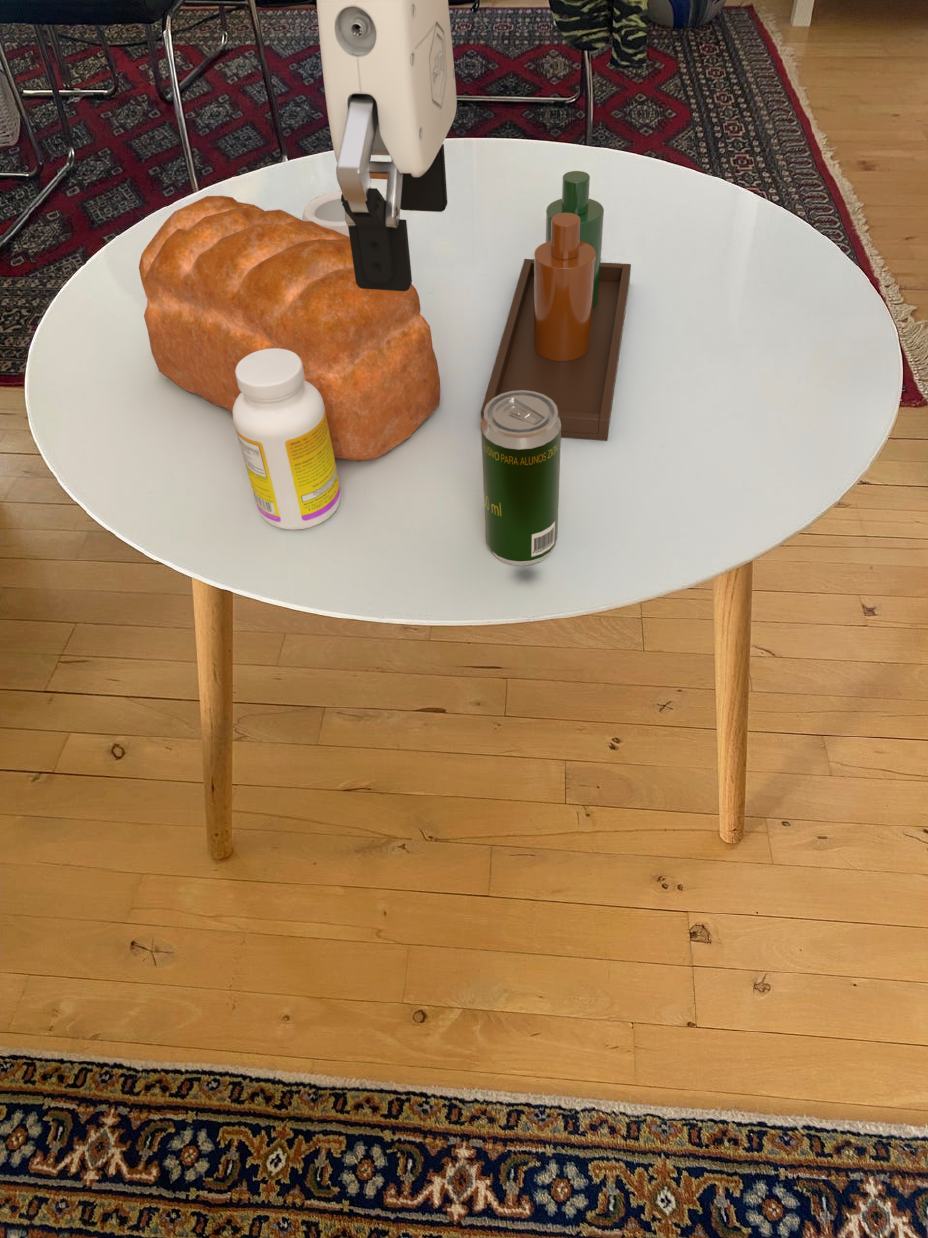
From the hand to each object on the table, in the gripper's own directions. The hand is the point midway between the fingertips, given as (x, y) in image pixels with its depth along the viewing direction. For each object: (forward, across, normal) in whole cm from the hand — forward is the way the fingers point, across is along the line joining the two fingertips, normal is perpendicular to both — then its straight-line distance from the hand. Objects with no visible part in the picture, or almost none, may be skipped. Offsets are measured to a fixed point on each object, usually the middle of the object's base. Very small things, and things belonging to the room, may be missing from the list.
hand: (404, 246), depth 60 cm
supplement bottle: (+22, 0, +11) cm, 25 cm away
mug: (+22, +36, +15) cm, 45 cm away
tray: (+22, +24, -7) cm, 34 cm away
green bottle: (+22, +32, -7) cm, 40 cm away
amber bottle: (+22, +24, -7) cm, 33 cm away
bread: (+22, +15, +16) cm, 31 cm away
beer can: (+22, -2, -7) cm, 24 cm away
